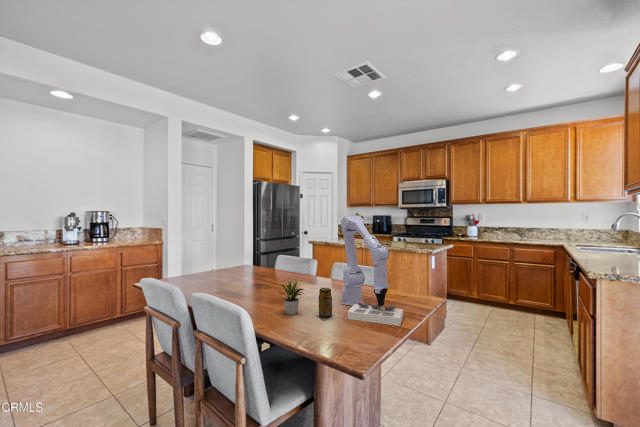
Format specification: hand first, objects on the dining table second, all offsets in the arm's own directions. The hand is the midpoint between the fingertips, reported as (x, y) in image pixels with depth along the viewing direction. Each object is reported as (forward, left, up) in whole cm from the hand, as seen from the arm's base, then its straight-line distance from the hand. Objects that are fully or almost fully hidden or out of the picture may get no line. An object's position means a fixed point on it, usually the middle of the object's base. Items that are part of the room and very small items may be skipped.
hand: (381, 305), depth 126 cm
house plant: (-40, -11, -5) cm, 42 cm away
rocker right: (+4, 0, -1) cm, 4 cm away
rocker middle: (-2, 0, -1) cm, 2 cm away
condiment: (-23, -8, -5) cm, 25 cm away
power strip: (-2, 0, -5) cm, 5 cm away
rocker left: (-8, 0, -1) cm, 8 cm away
